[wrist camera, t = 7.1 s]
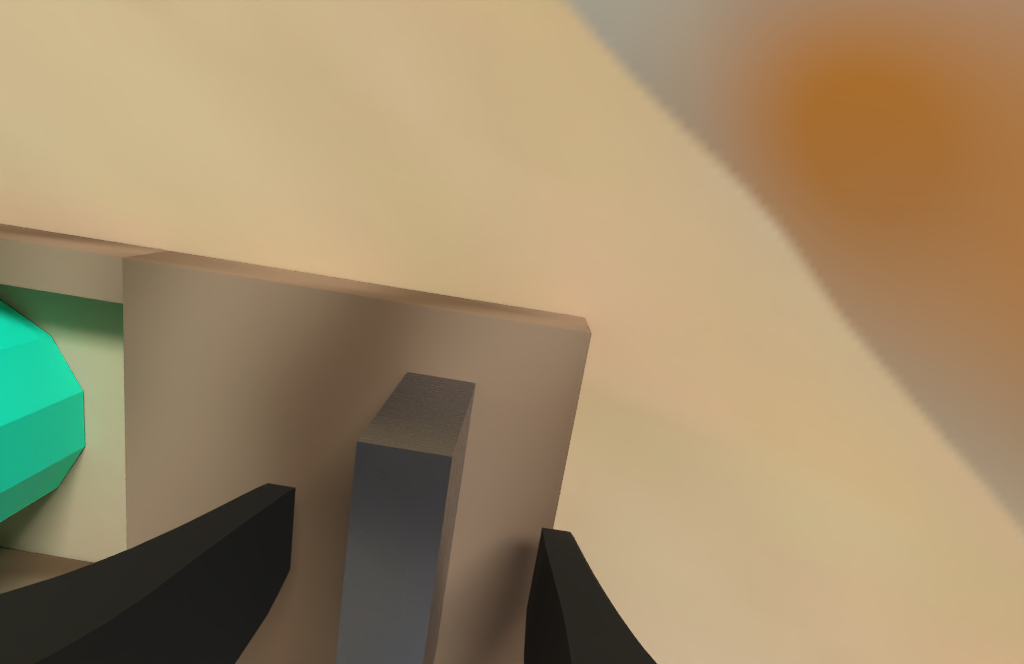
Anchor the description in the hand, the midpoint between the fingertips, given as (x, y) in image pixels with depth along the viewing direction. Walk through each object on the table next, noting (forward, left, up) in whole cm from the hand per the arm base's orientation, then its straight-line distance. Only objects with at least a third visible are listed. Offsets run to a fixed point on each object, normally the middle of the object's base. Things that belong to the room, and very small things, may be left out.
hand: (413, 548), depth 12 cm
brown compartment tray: (0, +7, -3) cm, 7 cm away
